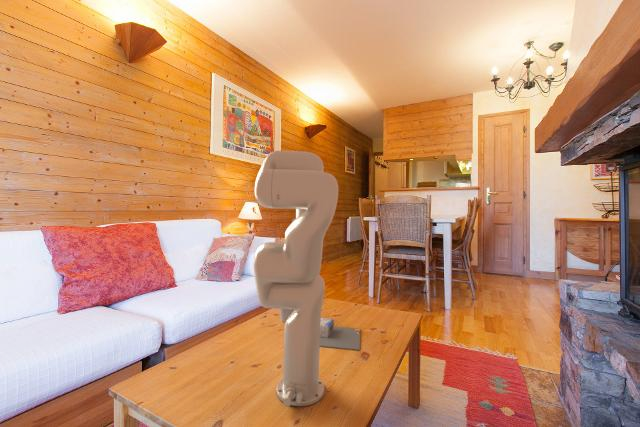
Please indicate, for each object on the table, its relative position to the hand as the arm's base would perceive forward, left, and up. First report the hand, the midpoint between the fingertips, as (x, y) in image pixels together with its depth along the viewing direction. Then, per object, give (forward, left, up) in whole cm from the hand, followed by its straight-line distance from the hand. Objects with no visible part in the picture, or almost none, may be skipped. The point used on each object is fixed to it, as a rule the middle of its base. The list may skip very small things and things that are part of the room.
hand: (304, 273), depth 105 cm
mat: (+8, -9, -25) cm, 28 cm away
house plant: (+19, +11, -25) cm, 33 cm away
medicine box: (+9, -9, -23) cm, 26 cm away
